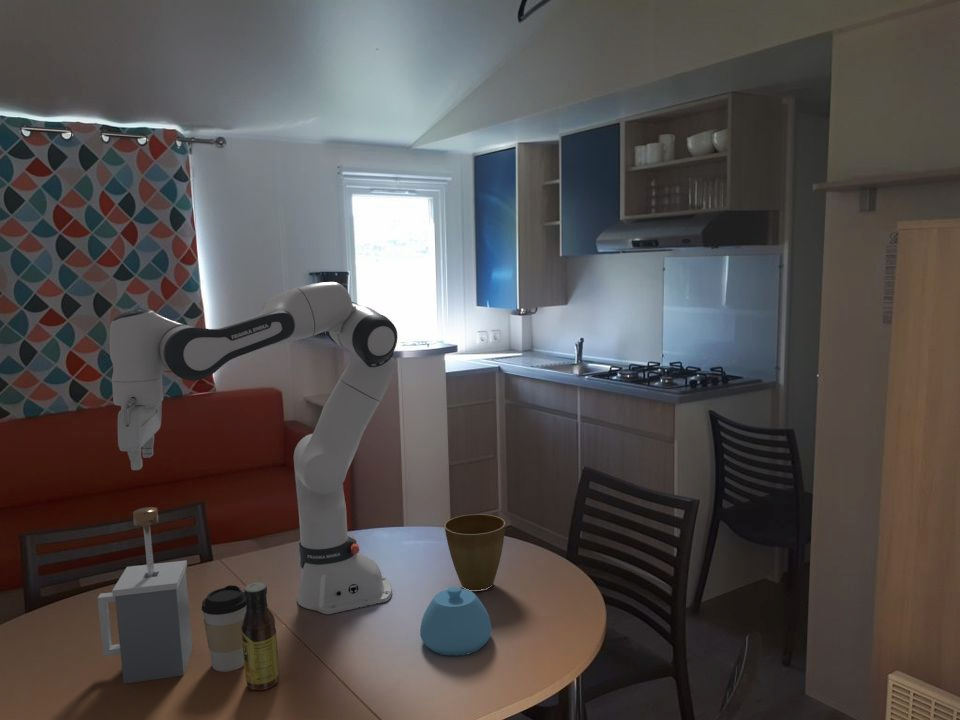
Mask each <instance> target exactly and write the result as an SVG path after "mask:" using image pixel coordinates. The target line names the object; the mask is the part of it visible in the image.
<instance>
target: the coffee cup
mask: <svg viewBox="0 0 960 720" xmlns="http://www.w3.org/2000/svg"><path fill="white" fill-rule="evenodd" d="M246 607H247V605H246V597H245V591H243V590H242V589H241V588H240V587H239V586H237V585H232V584H231V585H227V586H224V587H222V588H221V587H220V588H217V589H215V590H213V591H211V592H209V593H208V594H207V596H206V597H205V598H204V599H203V600H202V602H201V610H202V612H203V618H204V619H203V624H204V629H205V636H206V640H207V641H206V642H207V646H208V649H209V655H210V660H211V666H212V668H213V670H215V671H218V672H223V673H224V672H225V673H226V672H232V671H235V670H238V669H240V668H242V667H244V655H243V643H242V631H241V627H242V624H243V620H244V617H245V613H246Z"/></svg>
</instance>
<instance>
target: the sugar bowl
mask: <svg viewBox="0 0 960 720" xmlns="http://www.w3.org/2000/svg"><path fill="white" fill-rule="evenodd" d="M492 633H493V632H492V622H491V619H490V616H489V613H488V611H487V609H486V607H485V606H484V604H483V603H482V601H481V600H480V598H479V597H478V596H477V595H476V594H475V592H471V591H469V590H466V589H464V588H462V587H459V586H450V587H448V588H447V589H444V590H441V591H439V592H438V593H436V594H435V595H434V596H433V598H431V600H430V602H429V604H428V606H427V607H426V609H425V611H424V612H423V615H422V618H421V623H420V630H419V634H420V639H421V641H422V642H423V643H424V645H425V646H426V647H427V648H428V649H430V651H432V652H434V653H436V652H437V653H436V654H438V653H440V654H439V655H442V654H444V655H443V656H447V655H461V656H464V655H463V654H466V655H469V654H468V653H470V654H472V653H471V652H473V653H475V652H477V651H479V650H480V649H482V648H483V647H484V646H485V644H487V642H488V641H489V640H490V638H491V636H492ZM478 649H479V650H478ZM476 650H477V651H476ZM474 651H475V652H474Z"/></svg>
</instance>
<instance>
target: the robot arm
mask: <svg viewBox="0 0 960 720" xmlns="http://www.w3.org/2000/svg"><path fill="white" fill-rule="evenodd" d="M321 333H325V334H326V335H327V337H328V338H329V339H330V340H331V342H333V343H334V344H337V345H338V346H339V347H341V348H342V349H343V350H345V351H347V353H349V358H348V359H349V360H348V364H347V366H346V368H345V369H344V371H343V372H342V374H341V376H340V377H339V379H338V381H337V383H336V384H335V386H334V388H333V390H332V391H331V393H330V395H329V397H328V399H327V401H326V402H325V403H324V405H323V408H322V410H321V414H320V416H319V418H318V421H317V423H316V424H315V425H316V426H315V428H314V429H313V432H312V433H310V434H307V435H305V436H304V437H302V438H301V439H300V440H299V442H298V443H297V444H296V446H295V448H294V452H293V467H294V477H295V478H294V480H295V489H296V498H297V509H298V518H299V519H298V520H299V533H300V534H299V536H300V537H299V538H300V541H299V543H298V545H299V546H298V558H299V560H298V562H299V564H300V567H301V568H300V569H301V571H300V584H299V590H298V594H297V595H298V596H297V598H296V599H297V604H298V605H299V606H301V607H303V608H305V609H307V610H313V611H317V612H320V613H322V614H324V615H331V614H332V615H333V614H336V613H340V612H345V611H350V610H354V609H359V607H360V608H362V607H363V606H364V607H368V606H367V605H369V606H374V605H377V604H376V603H378V604H381V603H382V602H383V603H386V602H388V601H389V600H390V599H391V597H392V595H393V587H392V584H391V582H390V580H389V579H388V578H387V577H385V576H383V575H382V572H381V569H380V567H379V565H378V564H377V563H376V561H375V560H374V559H372V558H370V557H368V556H366V555H365V554H363V553H361V552H360V545H359V544H358V543H357V540H356V539H355V537H354V536H349V535H348V523H347V522H348V521H347V520H348V518H347V506H346V500H345V499H346V498H345V493H344V482H345V480H346V477H347V473H348V472H349V471H348V470H349V468H350V466H351V464H352V462H353V460H354V457H355V455H356V452H357V450H358V448H359V445H360V442H361V439H362V437H363V435H364V432H365V430H366V428H367V427H368V425H369V423H370V421H371V419H372V418H373V416H374V414H375V412H376V410H377V409H378V408H379V407H378V406H379V405H380V403H381V401H382V400H383V398H384V397H385V394H386V392H387V389H388V387H389V385H390V383H391V380H392V377H393V374H394V372H395V367H396V366H395V360H394V358H393V356H394V351H395V350H396V347H397V343H398V330H397V328H396V326H395V325H394V323H393V322H392V320H390V319H389V318H388V317H387V316H385V315H384V314H381V313H379V312H377V311H376V310H374V309H372V308H371V307H369V306H368V307H367V306H363V305H361V304H359V303H356V302H354V301H352V297H351V295H350V293H349V291H348V290H347V288H346V287H345V286H344V285H342V284H341V283H339V282H335V281H327V282H317V283H311V284H306V285H305V284H304V285H301V286H297V287H294V288H290V289H287V290H285V291H282V292H279V293H277V294H275V295H273V296H272V297H271V296H270V297H269V298H268V299H266V301H265V302H264V304H263V306H262V309H261V311H260V313H258V314H257V315H255V316H253V317H249V318H247V319H243V320H241V321H238V322H235V323H232V324H229V325H225V326H223V327H219V328H207V327H195V326H191V325H187V324H184V323H181V322H178V321H174V320H171V319H170V318H167V317H164V316H162V315H160V314H158V313H156V312H155V311H154V310H152V309H149V308H141V309H135V310H129V311H125V312H122V313H119V314H118V315H116V316H115V317H114V318H113V319H112V321H111V324H110V327H109V355H110V356H109V357H110V360H111V363H112V368H113V369H112V370H113V372H112V376H111V386H112V399H113V400H112V402H113V404H114V405H115V406H118V407H119V406H120V408H121V409H120V410H119V411H118V414H117V444H118V445H117V446H118V449H119V451H121V452H127V456H128V459H129V461H130V469H131V470H132V471H139V470H142V468H143V466H144V465H143V458H144V459H146V458H147V459H148V458H149V459H150V458H151V457H153V456H154V443H155V435H156V433H157V432H158V431H159V430H160V429H161V425H162V417H163V416H162V415H163V413H162V410H163V409H162V405H163V403H162V402H163V401H164V395H165V387H164V385H163V376H162V375H163V373H164V372H172V373H173V374H174V375H176V377H179V378H181V379H183V380H185V381H196V382H197V381H202V380H205V379H207V378H209V377H210V376H212V375H214V374H215V373H216V372H217V371H219V370H220V369H221V368H222V367H223V366H224V365H225V364H226V363H228V362H229V361H232V360H234V359H235V358H236V359H237V358H238V357H241V356H243V355H246V354H249V353H251V352H252V353H253V352H254V351H257V350H260V349H262V348H266V347H269V346H272V345H276V344H283V343H292V342H296V341H300V340H303V339H307V338H310V337H312V336H317V335H319V334H321ZM364 607H363V608H364Z"/></svg>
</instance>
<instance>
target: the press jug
mask: <svg viewBox="0 0 960 720" xmlns="http://www.w3.org/2000/svg"><path fill="white" fill-rule="evenodd" d="M153 564H154V575H155V577H149V578H148V571H147V564H143V565H142V564H141V565H132V566H126V568H125V569H124V571H123V573H122V574H121V576H120V577H119V579H118V580H117V582H116V584H115V586H114V587H113V588H112V591H111V592H103V593H102V592H101V593H99V595H98V597H97V607H98V616H99V617H98V618H99V626H100V636H101V637H100V638H101V643H102V644H101V645H102V656H103V657H109V656H117V655H118V656H119V655H120V659H121V661H120V663H121V671H122V680H123V681H122V682H123V684H124V685H125V684H132V683H138V682H146V681H152V680H153V681H154V680H161V679H165V678H175V677H181V676H184V675H185V673H186V669H187V667H188V662H189V660H190V657H191V654H192V651H193V641H192V626H191V617H190V608H189V607H190V605H189V593H188V584H187V583H188V581H187V571H186V570H187V567H188V560H177V561H170V562H169V561H168V562H159V563H153ZM109 603H115V607H116V608H115V610H116V622H117V629H118V630H117V631H118V641H119V643H118V644H117V643H116V644H113V641H112V632H111V631H112V630H111V621H110V620H111V619H110V612H109Z"/></svg>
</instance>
